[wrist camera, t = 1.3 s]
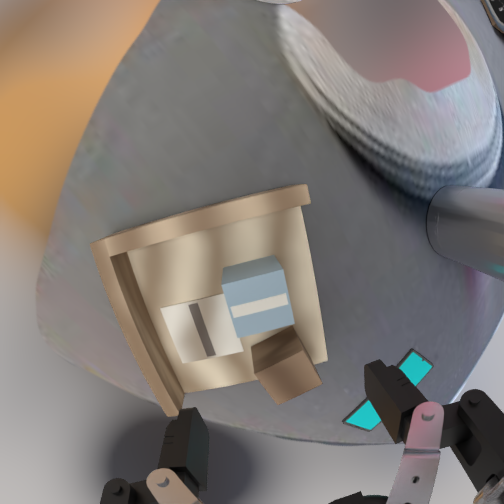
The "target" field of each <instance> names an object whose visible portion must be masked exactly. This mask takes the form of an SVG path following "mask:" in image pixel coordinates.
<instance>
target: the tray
mask: <svg viewBox="0 0 504 504" xmlns="http://www.w3.org/2000/svg"><path fill="white" fill-rule="evenodd" d="M306 204H311V201H310V197H309V192H308V188H307V184H298V185H290V186H285V187H281V188H276V189H272V190H268V191H264V192H259V193H255V194H251V195H247V196H243V197H239V198H235V199H231V200H227V201H223V202H220V203H216V204H212V205H208V206H205V207H201V208H197V209H194V210H190V211H186V212H183V213H179V214H176V215H172V216H169V217H166V218H162V219H159V220H156V221H152V222H149V223H146V224H142V225H139V226H136V227H133V228H130V229H126V230H123V231H120V232H117V233H114V234H111V235H109V236H107V237H104V238H102V239H100V240H97V241H95V242H93V243H90V246H91V250H92V253H93V256H94V259H95V262H96V265H97V268H98V271H99V274H100V277H101V279H102V282H103V285H104V288H105V290H106V293H107V295H108V298H109V301H110V303H111V306H112V308H113V311H114V313H115V315H116V318H117V320H118V322H119V325H120V327H121V329H122V332H123V334H124V336H125V338H126V340H127V342H128V345H129V347H130V349H131V351H132V353H133V355H134V357H135V359H136V361H137V363H138V365H139V367H140V369H141V371H142V373H143V375H144V377H145V378H146V380H147V382H148V384H149V386H150V388H151V389H152V391H153V393H154V395H155V397H156V398H157V400H158V402H159V403H160V405H161V407H162V408H163V410H164V412H165V413H166V415H167V417H168V416H178V414H179V410H180V409H182V405H183V399H184V394H185V393H188V392H195V391H202V390H208V389H214V388H219V387H225V386H230V385H235V384H240V383H244V382H249V381H254V380H258V379H257V377H256V376H255V374H254V368H253V361H252V353H251V346H253V345H255V344H257V343H259V342H261V341H263V340H265V339H267V338H269V337H271V336H273V335H275V334H277V333H279V332H281V331H282V330H284V329H286V328H288V327H290V326H292V325H293V327H294V329H295V331H296V333H297V334H298V336H299V338H300V340H301V341H302V343H303V345H304V347H305V348H306V350H307V352H308V354H309V355H310V357H311V359H312V362H313V364H314V365H315V364H318V363H321V362H324V361H328V359H327V351H326V344H325V337H324V330H323V324H322V317H321V311H320V305H319V299H318V293H317V287H316V282H315V276H314V270H313V265H312V260H311V255H310V249H309V244H308V239H307V234H306V229H305V225H304V220H303V215H302V211H301V206H302V205H306ZM271 255H275V257H276V259H277V260H278V262H279V263H280V265H281V267H282V268H283V271H284V275H285V280H286V284H287V289H288V294H289V298H290V303H291V308H292V312H293V317H294V322H295V324H292V325H288V326H285V327H281V328H277V329H273V330H269V331H266V332H262V333H258V334H253V335H249V336H245V337H241V338H237V335H236V332H235V328H234V325H233V322H232V319H231V316H230V312H229V309H228V306H227V302H226V299H225V296H224V292H223V289H222V286H221V283H222V273H223V268H224V267H228V266H231V265H235V264H239V263H243V262H247V261H251V260H255V259H259V258H263V257H267V256H271Z"/></svg>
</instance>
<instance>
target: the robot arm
mask: <svg viewBox="0 0 504 504" xmlns="http://www.w3.org/2000/svg"><path fill="white" fill-rule="evenodd" d="M427 233H428V238H429V241H430V244H431V245H432V247H433V249H434V250H435V251H436V252H437V253H438V254H440V255H441V256H444V257H446V258H449V259H451V260H454V261H456V262H459V263H461V264H463V265H466V266H468V267H471V268H473V269H476V270H478V271H480V272H483V273H485V274H487V275H490V276H492V277H494V278H497V279H499V280H501V281H503V282H504V190H502V189H492V188H480V187H469V186H454V185H449V186H445V187H443V188H441V189H440V190H439V191H438V192H437V193H436V194H435V196H434V197H433V199H432V201H431V204H430V206H429V210H428V215H427ZM364 377H365V392H366V395H367V398H368V399H369V401H370V403H371V404H372V406H373V408H374V409H375V411H376V412H377V414H378V416H379V417H380V419H381V421H382V422H383V424H384V426H385V427H386V429H387V431H388V432H389V434H390V436H391V437H392V439H393V441H394V442H395V444H397V443H399V442H401V441H403V442H404V444H405V449H404V452H403V456H402V459H401V463H400V466H399V469H398V472H397V475H396V478H395V481H394V484H393V487H392V490H391V492H390V495H389V497H387V496H381V495H367V496H363V495H362V493H361V491H360V492H357V493H355V494H352V495H349V496H346V497H343V498H340V499H337V500H334V501H333V502H331V503H329V504H429V501H430V498H431V494H432V490H433V487H434V483H435V478H436V474H437V470H438V465H439V460H440V451H439V449H441V448H445V447H448V446H450V447H451V449H452V451H453V452H454V454H455V455H456V457H457V459H458V460H459V461H460V463H461V465H462V467H463V468H464V470H465V471H466V473H467V475H468V477H469V478H470V480H471V481H472V483H473V485H474V487H475V488H476V490H477V492H478V494H477V495H476V496H475V498H474V501H473V504H504V413H503V412H502V411H501V410H500V409H499V408H498V407H497V406H496V404H495V403H494V402H493V401H492V400H491V399H490V398H489V397H488V396H487V395H486V393H484V392H483V391H481V390H478V389H473V390H469V391H467V392H465V393H464V394H463V395H462V397H461V399H460V401H459V402H455V403H451V404H448V405H442V406H441V405H440V404H438V403H436V402H429V401H428V400H427V399H426V398H425V397H424V396H423V394H422V393H421V392H420V391H419V390H418V389H417V387H416V386H415V385H414V384H413V383H412V382H411V380H410V379H409V378H408V377H407V376H406V375H405V373H404V372H403V371H402V370H401V369H399V368H397V367H395V366H393V365H391V366H389V367H386V366H385V364H384V363H383V362H382V361H381V360H380V359H379V360H376V361H374V362H371V363H368V364H366V365H365V366H364ZM208 454H209V432H208V429H207V426H206V425H205V423H204V421H203V419H202V417H201V415H200V413H199V412H198V410H197V408H195V407H193V408H186V409H180V410H179V414H178V419H177V420H172V421H171V422H170V424H169V425H168V426H167V428H166V432H165V438H164V441H163V445H162V450H161V455H160V459H159V464H158V469H157V470H155V471H153V472H152V473H150V475H149V476H148V478H147V480H144V481H140V482H135V483H131V484H129V483H128V482H127V481H126V480H124V479H121V478H116V479H112V480H110V481H109V482H107V483H106V485H105V486H104V489H103V493H102V497H101V501H100V504H203V502H202V501H201V500H200V499H199V491H207V474H208Z"/></svg>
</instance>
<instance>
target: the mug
mask: <svg viewBox="0 0 504 504" xmlns="http://www.w3.org/2000/svg"><path fill="white" fill-rule="evenodd" d="M258 1H262V2H267V3H273V4H290V3H294V2H299V1H302V0H258Z"/></svg>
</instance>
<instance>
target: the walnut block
mask: <svg viewBox="0 0 504 504" xmlns="http://www.w3.org/2000/svg"><path fill="white" fill-rule="evenodd" d="M251 353H252V361H253V368H254V374H255V376H256V377H257V379H258V380H259V381H260V383H261V384H262V385H263V386H264V388H265V389H266V390H267V392H268V393H269V394H270V396H271V397H272V398H273V400H274V401H275V402H276V403H277V405H279V404H282V403H284V402H286V401H288V400H290V399H292V398H295V397H297V396H299V395H301V394H303V393H305V392H307V391H309V390H311V389H313V388H315V387H317V386H319V385H321V384H323V383H322V381H321V379H320V377H319V375H318V372H317V370H316V368H315V366H314V364H313V362H312V359H311V357H310V355H309V354H308V352H307V350H306V348H305V347H304V345H303V343H302V341H301V340H300V338H299V336H298V334H297V333H296V331H295V329H294V327H293V325H292V326H290V327H288V328H286V329H284V330H282V331H281V332H279V333H277V334H275V335H273V336H271V337H269V338H267V339H265V340H263V341H261V342H259V343H257V344H255V345H253V346H251Z"/></svg>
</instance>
